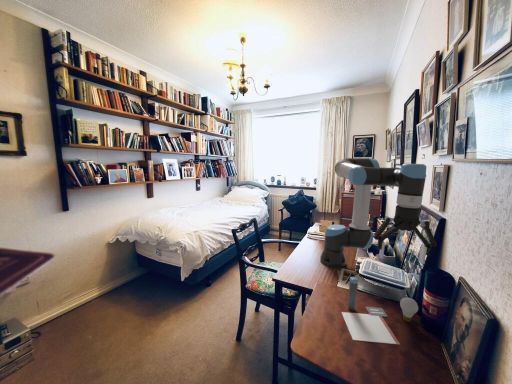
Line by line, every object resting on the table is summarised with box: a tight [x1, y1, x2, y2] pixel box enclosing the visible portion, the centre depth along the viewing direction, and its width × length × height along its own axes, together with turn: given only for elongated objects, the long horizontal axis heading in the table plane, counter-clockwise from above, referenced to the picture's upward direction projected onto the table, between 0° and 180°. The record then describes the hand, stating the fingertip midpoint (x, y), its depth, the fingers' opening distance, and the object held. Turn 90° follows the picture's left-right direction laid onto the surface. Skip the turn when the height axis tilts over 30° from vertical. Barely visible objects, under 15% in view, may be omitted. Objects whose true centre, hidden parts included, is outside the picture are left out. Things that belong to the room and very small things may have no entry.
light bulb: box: [399, 296, 419, 323], centre depth 86 cm, size 6×6×10 cm
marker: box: [346, 276, 359, 311], centre depth 92 cm, size 3×3×14 cm
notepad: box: [341, 311, 401, 345], centre depth 83 cm, size 14×16×1 cm
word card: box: [365, 306, 389, 318], centre depth 91 cm, size 5×7×1 cm
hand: (400, 259), depth 82 cm, fingers open, 13 cm apart
